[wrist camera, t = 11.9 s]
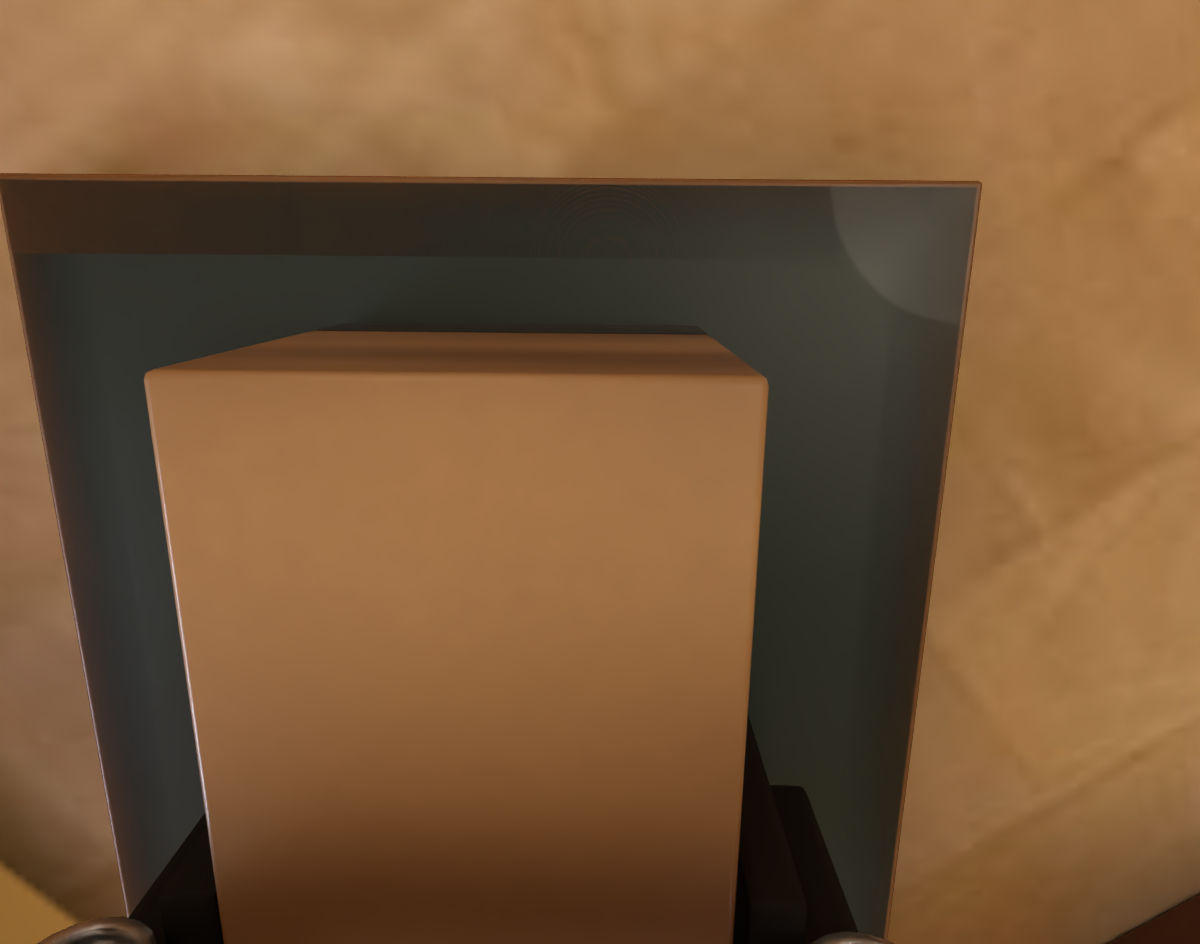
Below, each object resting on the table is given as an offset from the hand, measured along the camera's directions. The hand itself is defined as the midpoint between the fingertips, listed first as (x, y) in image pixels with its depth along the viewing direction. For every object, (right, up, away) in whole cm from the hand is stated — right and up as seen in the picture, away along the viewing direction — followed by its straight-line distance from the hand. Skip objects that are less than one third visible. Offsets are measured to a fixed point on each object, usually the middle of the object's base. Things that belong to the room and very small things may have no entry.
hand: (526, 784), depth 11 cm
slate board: (0, +1, +1) cm, 2 cm away
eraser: (0, +2, 0) cm, 2 cm away
